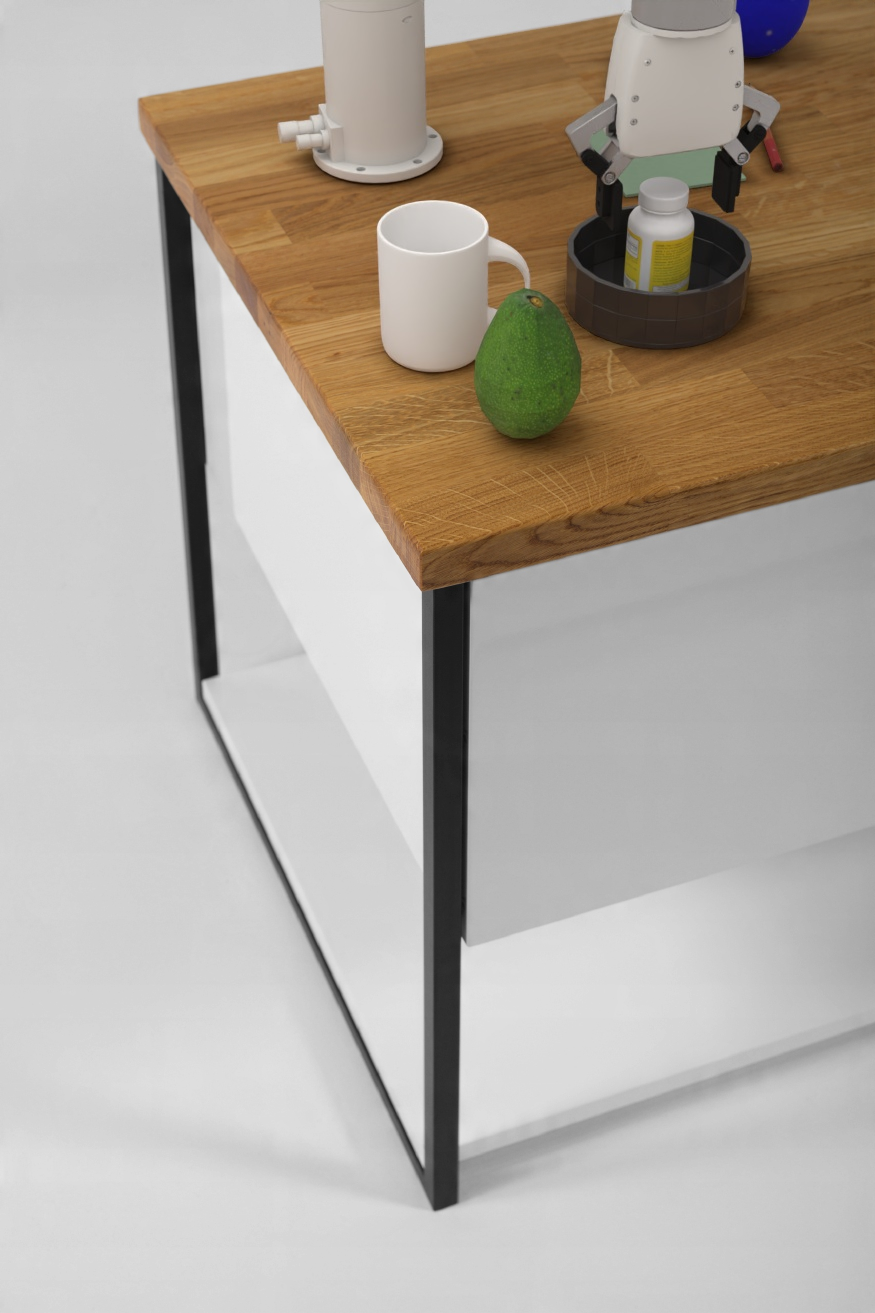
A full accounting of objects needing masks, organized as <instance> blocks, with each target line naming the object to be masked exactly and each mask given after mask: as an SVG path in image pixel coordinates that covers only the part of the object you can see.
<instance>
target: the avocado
mask: <svg viewBox="0 0 875 1313" xmlns="http://www.w3.org/2000/svg"><path fill="white" fill-rule="evenodd" d="M497 309H498V310H497V312H496V314H495V316H494V318H493V320H492V321H491V323H490V325H489V327H488V329H487V331H486V333H485V335H484V337H483V340H482V342H481V345H480V347H479V350H478V353H477V355H476V358H475V360H474V372H473V373H474V375H473V383H474V384H473V385H474V391H475V394H476V397H477V401H478V404H479V407H480V410H481V412H482V413H483V415H484V416H485V417H486V418H487V420H488V422H489V423H490V424H491V425H492V427H493V428H494V429H495V430H496V431H497V432H499V433H500V434H501V435H504V436H507V437H509V438H511V439H532V440H533V439H536V438H539V437H541V436H544V435H546V434H549V433H550V432H551V431H553V430H554V429H555V428H557V427H558V426H559V425H561V424H562V423H563V422H564V421H565V420H566V418H567V416H568V415H569V413H570V412H571V410H572V409H573V408H574V405H575V403H576V401H577V399H578V397H579V395H580V392H581V385H582V360H583V358H582V357H581V356H582V355H581V354H580V350H579V347H578V345H577V342H576V339H575V336H574V334H573V330H572V329H571V328H570V326H569V324H568V322H567V320H566V318H565V317H564V314H563V312H561V310H560V308H559V307H558V305H557V304H555V302H553V301H552V300H551V299H550V297H548V296H546V295H545V294H543V293H542V292H541V291H540V290H537V289H531V288H530V289H527V288H525V287H523V288H520V289H518V290H515V291H512V292H510V293H509V294H508V295H507V296H506V298H504V300H503V301H502V303H501V304H500V305H499V307H498V308H497Z"/></svg>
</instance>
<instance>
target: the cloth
mask: <svg viewBox="0 0 875 1313" xmlns="http://www.w3.org/2000/svg"><path fill="white" fill-rule="evenodd" d="M609 138H610V137H608V136H606V135H605V133H604V131H603V129H601V130H600V131H598V132H597V133H595V134H594V135H593V136H592V137H591V138H590V143H591V145H592V148H593V149H594V150H595V151H596V152H599V151H600V150H601V148H602V147H603V146H604V145H605V143H606V142H607V141H608V140H609ZM721 150H722V148H721V146H719V147H714V148H708V149H702V150H695V151H689V152H682V153H675V154H668V155H661V156H654V157H646V158H634V159H633V160H632V161H631V162H630V164H629V165H628V166H627V167H626V169H625V170H624V171H623V172H622V174H621V175H620V176H619V177H618V179H619V180H620V182H621V183H622V184H623V197H625V198H634V197H638V196H639V187H640V185H641V183H642V182H644V181H645V180H647V179H650V178H654V177H671V178H675V179H679V180H681V181H683V182H684V183H686V184H687V185H688V187H689V190H690V189H696V188H698V189H699V188H704V187H712V183H713V172H714V162H715V155H717V151H721ZM746 181H747V177H746V176H745V174H744V173H743V172H742V175H741V182H746Z"/></svg>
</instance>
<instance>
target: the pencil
mask: <svg viewBox="0 0 875 1313" xmlns="http://www.w3.org/2000/svg"><path fill="white" fill-rule="evenodd" d="M747 86H749V87H751V88H754V89H756V88H755V86H753V84H752V83H751V82H749V83H748V84H747ZM752 112H754V109H752ZM762 142H763V143H764V145H765V149H766V152H767V155H768V159H769V161H770V164H771V167H772V169H773V171H774V172H781V171H782V170H783V168H784V164H783V162H782V158H781V156H780V153H779V150H778V147H777V144H776V141H775V138H774V135H773V133H772V130H771V126H770V127H768V129H767V135H766V137H765V138H764V140H763V141H762Z"/></svg>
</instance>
